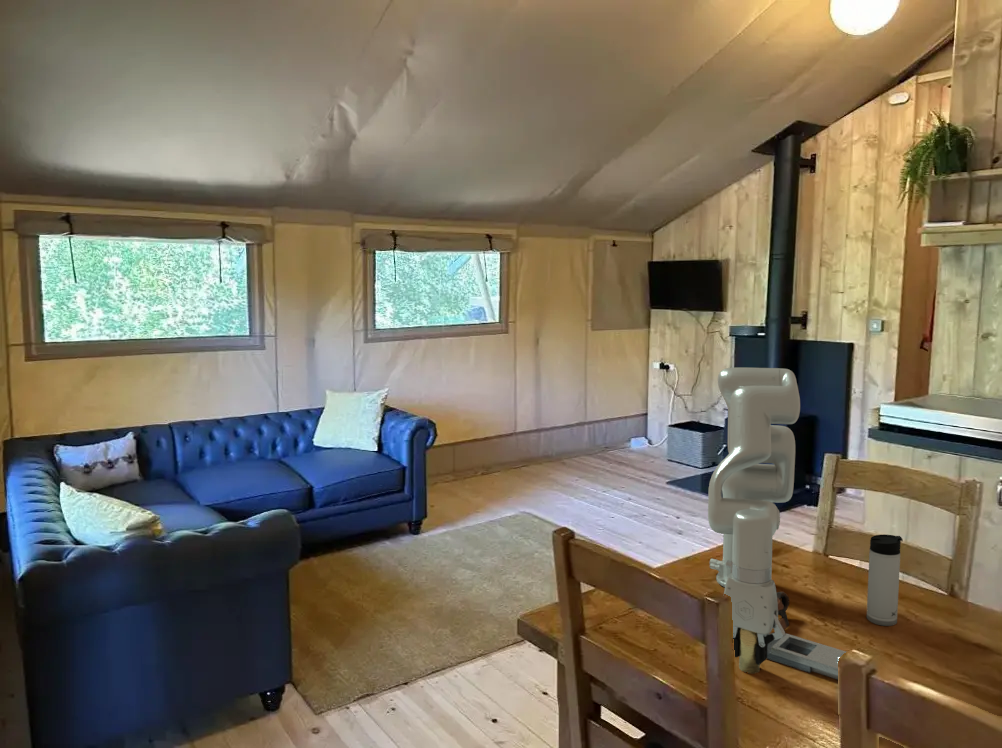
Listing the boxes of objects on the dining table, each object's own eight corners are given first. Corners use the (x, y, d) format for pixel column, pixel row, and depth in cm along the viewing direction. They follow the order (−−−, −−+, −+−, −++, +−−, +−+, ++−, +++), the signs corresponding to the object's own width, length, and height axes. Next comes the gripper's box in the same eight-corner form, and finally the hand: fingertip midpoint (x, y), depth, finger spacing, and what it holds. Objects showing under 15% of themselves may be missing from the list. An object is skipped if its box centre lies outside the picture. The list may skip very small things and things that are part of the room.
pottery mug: (777, 639, 167) (758, 605, 168) (747, 641, 175) (729, 608, 176) (807, 611, 173) (789, 579, 174) (777, 614, 181) (760, 583, 182)
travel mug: (902, 627, 170) (906, 541, 167) (870, 625, 171) (874, 540, 169) (893, 615, 176) (897, 532, 174) (863, 613, 177) (866, 531, 175)
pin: (732, 669, 154) (733, 617, 152) (742, 659, 157) (744, 609, 156) (755, 677, 150) (757, 624, 149) (766, 667, 154) (767, 616, 152)
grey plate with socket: (734, 648, 162) (734, 633, 162) (750, 634, 168) (750, 620, 168) (851, 686, 146) (852, 670, 146) (865, 670, 152) (865, 654, 152)
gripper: (704, 567, 154) (702, 652, 156) (785, 588, 143) (782, 680, 145) (721, 557, 159) (719, 639, 162) (800, 576, 148) (797, 664, 151)
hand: (749, 657), depth 153 cm, fingers closed on pin, 4 cm apart
